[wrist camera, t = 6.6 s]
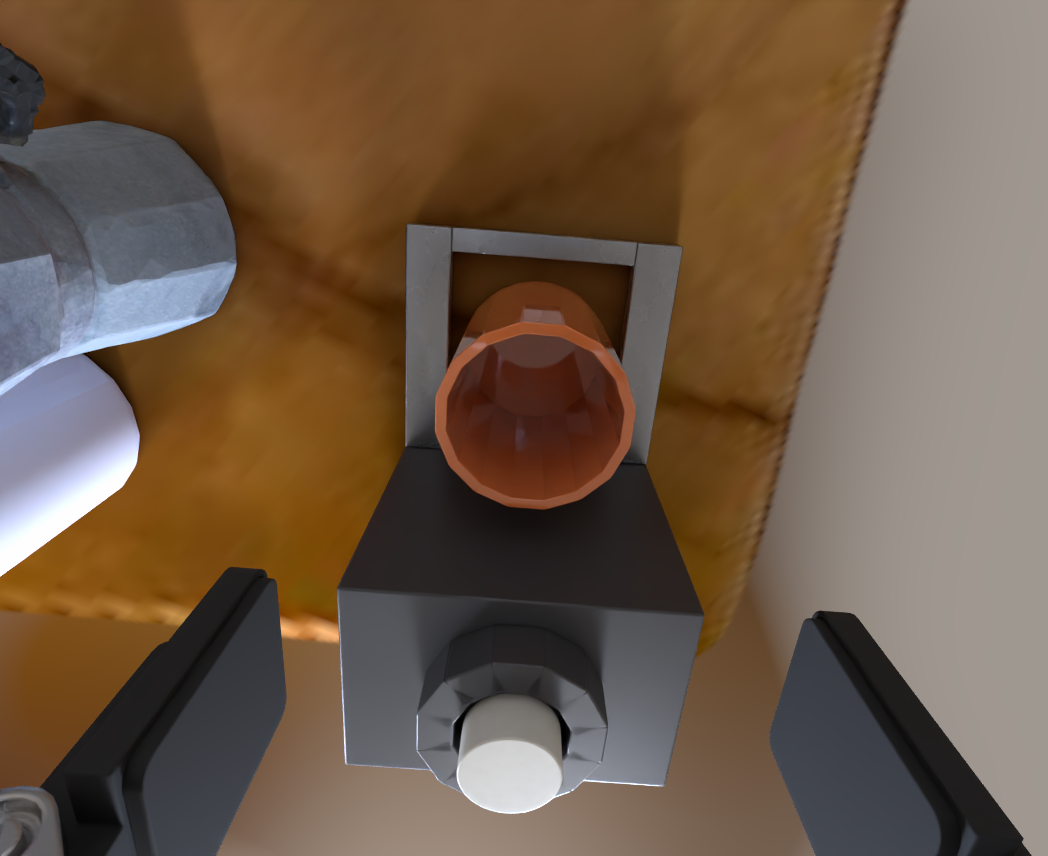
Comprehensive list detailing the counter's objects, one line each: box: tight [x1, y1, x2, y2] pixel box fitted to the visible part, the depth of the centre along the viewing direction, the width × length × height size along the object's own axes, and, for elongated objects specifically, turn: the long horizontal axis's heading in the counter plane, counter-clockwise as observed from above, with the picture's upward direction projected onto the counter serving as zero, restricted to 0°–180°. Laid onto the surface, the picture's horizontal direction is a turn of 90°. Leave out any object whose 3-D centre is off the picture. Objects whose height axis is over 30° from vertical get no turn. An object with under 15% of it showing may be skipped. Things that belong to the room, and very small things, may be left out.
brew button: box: [457, 693, 563, 813], centre depth 19 cm, size 3×3×2 cm
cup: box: [435, 281, 636, 510], centre depth 25 cm, size 7×7×9 cm
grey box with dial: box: [337, 446, 704, 798], centre depth 26 cm, size 8×12×14 cm, turn 86°
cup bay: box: [405, 222, 683, 465], centre depth 28 cm, size 10×12×1 cm
